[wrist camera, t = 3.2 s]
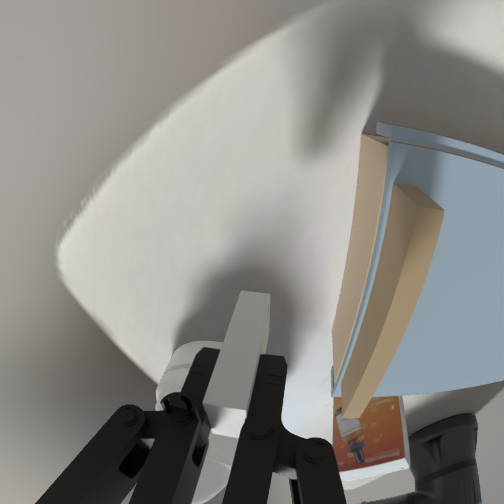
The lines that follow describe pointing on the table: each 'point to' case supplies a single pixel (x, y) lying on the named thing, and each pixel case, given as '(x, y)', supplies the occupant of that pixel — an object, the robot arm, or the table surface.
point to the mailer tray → (363, 238)
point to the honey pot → (219, 445)
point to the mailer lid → (430, 275)
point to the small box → (371, 439)
